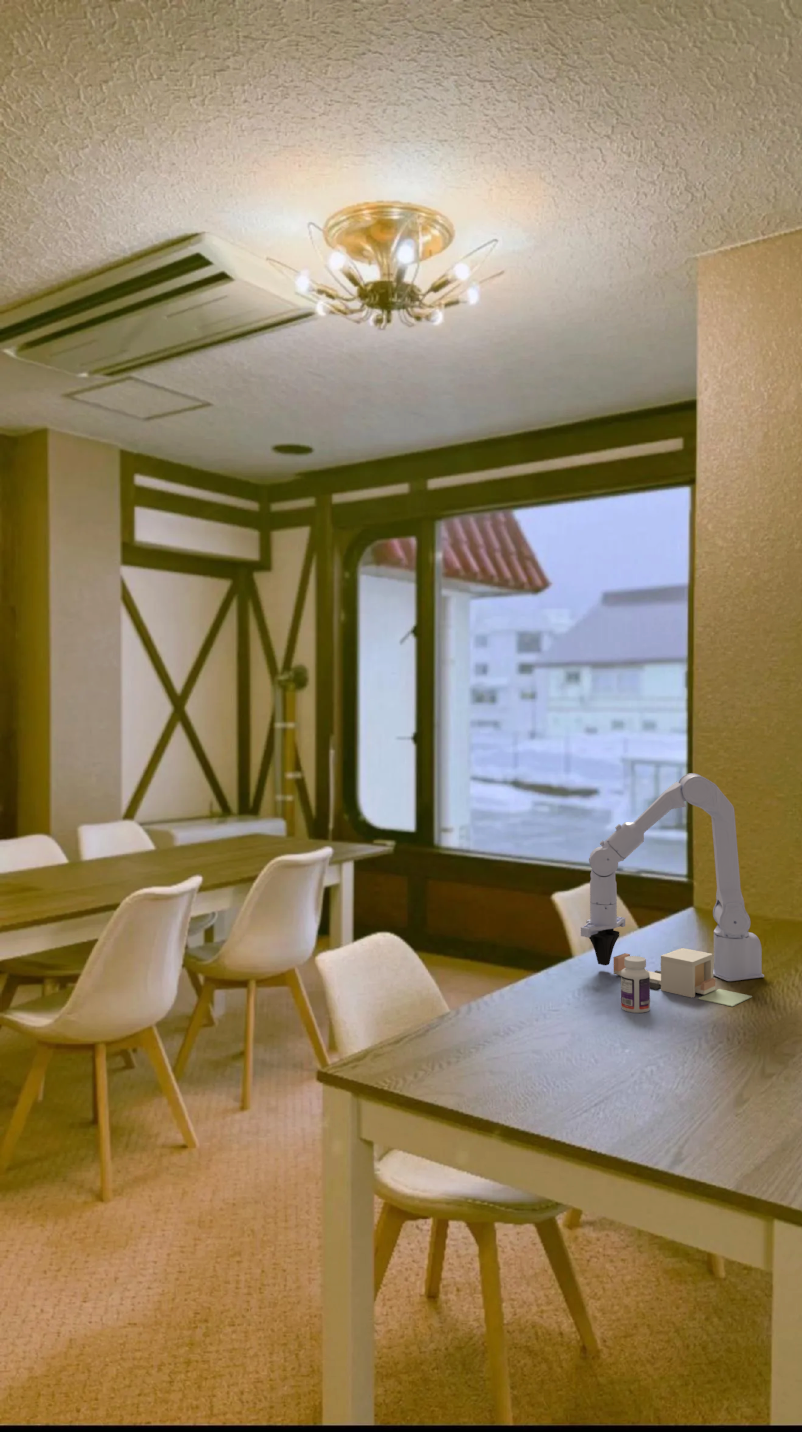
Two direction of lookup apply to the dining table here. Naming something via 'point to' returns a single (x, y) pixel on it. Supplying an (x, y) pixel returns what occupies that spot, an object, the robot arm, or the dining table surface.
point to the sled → (700, 984)
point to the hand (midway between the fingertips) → (603, 964)
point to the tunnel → (684, 970)
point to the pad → (725, 997)
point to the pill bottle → (635, 985)
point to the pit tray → (655, 983)
